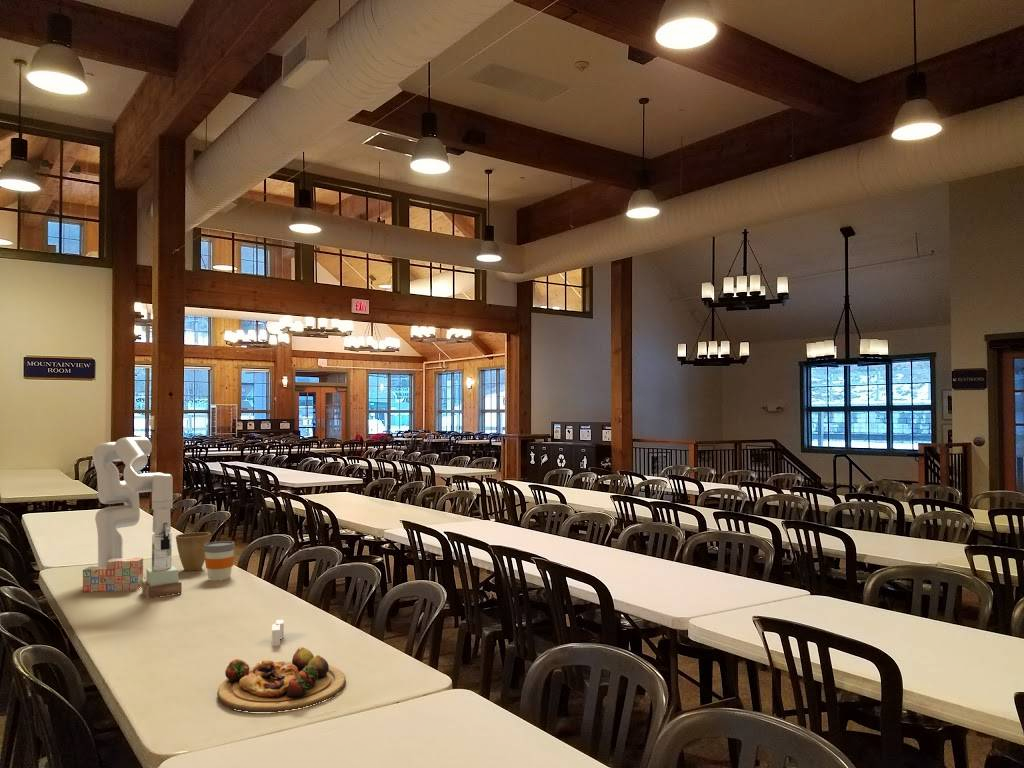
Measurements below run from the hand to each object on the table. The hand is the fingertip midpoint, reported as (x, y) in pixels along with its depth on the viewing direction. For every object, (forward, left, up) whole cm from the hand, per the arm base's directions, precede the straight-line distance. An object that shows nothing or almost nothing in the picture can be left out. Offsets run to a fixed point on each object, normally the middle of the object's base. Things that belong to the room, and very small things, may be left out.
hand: (162, 547), depth 298 cm
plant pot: (-40, +22, -18) cm, 49 cm away
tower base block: (0, 0, -19) cm, 19 cm away
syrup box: (0, 0, -9) cm, 9 cm away
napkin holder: (+90, +15, -19) cm, 93 cm away
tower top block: (0, 0, -14) cm, 14 cm away
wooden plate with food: (+131, +1, -19) cm, 133 cm away
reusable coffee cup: (-13, +26, -18) cm, 34 cm away
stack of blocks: (-21, -14, -19) cm, 32 cm away
